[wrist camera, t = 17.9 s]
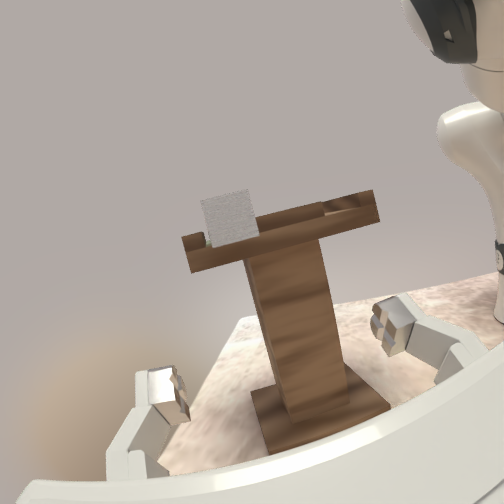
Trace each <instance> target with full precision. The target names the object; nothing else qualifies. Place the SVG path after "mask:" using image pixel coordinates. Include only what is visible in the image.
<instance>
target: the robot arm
mask: <svg viewBox="0 0 504 504" xmlns="http://www.w3.org/2000/svg"><path fill="white" fill-rule="evenodd" d="M401 5H402V9H403V12H404V15H405V17H406V19H407V22H408V23H409V25H410V27H411V29H412V30H413V31H414V33H415V34H416V36H417V37H418V38H419V39H420V40H421V41H422V42H423V43H424V44H425V45H426V46H427V47H428V48H429V49H430V50H431V52H432V53H433V55H434V56H436V57H438V58H439V59H441V60H443V61H444V62H446V63H452V64H459V65H460V68H461V72H462V76H463V80H464V83H465V85H466V87H467V89H468V90H469V92H470V93H471V94H472V95H473V96H474V97H475V98H476V99H477V100H478V102H473V103H469V104H464V105H461V106H458V107H456V108H454V109H451V110H450V111H448V112H446V113H444V114H442V115H441V116H440V118H439V121H438V125H437V139H438V142H439V145H440V148H441V149H442V151H443V153H444V154H445V156H446V157H447V158H448V159H449V160H450V161H451V162H453V163H454V164H456V165H457V166H459V167H461V168H463V169H465V170H466V171H467V172H469V173H470V174H471V175H472V176H473V177H474V178H475V179H476V180H477V181H478V182H479V184H480V185H481V186H482V188H483V190H484V191H485V193H486V195H487V198H488V200H489V203H490V207H491V211H492V215H493V220H494V225H495V231H496V241H495V248H496V263H497V269H498V271H499V280H498V293H497V300H496V304H495V309H494V316H495V318H496V319H497V320H498V321H500V322H502V323H504V0H401ZM372 311H373V313H374V315H373V316H372V317H371V321H370V325H371V330H372V332H373V334H374V336H375V337H376V339H378V340H381V341H382V345H381V346H382V348H383V349H384V351H385V352H386V354H387V355H388V357H391V356H393V355H396V354H398V353H400V352H403V351H405V350H406V352H408V353H410V354H411V355H413V356H415V357H417V358H418V359H420V360H422V361H424V362H425V363H427V364H429V365H431V366H433V367H434V368H436V369H438V370H439V371H438V372H437V374H436V376H435V378H434V383H435V384H436V386H434V387H432V388H431V389H429V390H427V391H425V392H423V393H422V394H420V395H418V396H416V397H414V398H412V399H411V400H409V401H407V402H405V403H403V404H401V405H399V406H397V407H395V408H393V409H391V410H389V411H387V412H385V413H382V414H380V415H378V416H376V417H374V418H372V419H369V420H367V421H365V422H363V423H360V424H358V425H356V426H353V427H351V428H348V429H346V430H343V431H341V432H338V433H336V434H333V435H331V436H328V437H325V438H323V439H320V440H317V441H314V442H311V443H308V444H305V445H302V446H299V447H296V448H293V449H290V450H287V451H284V452H280V453H277V454H273V455H270V456H266V457H263V458H259V459H255V460H251V461H247V462H243V463H239V464H235V465H230V466H226V467H221V468H216V469H211V470H206V471H200V472H194V473H188V474H182V475H175V476H170V475H169V471H168V470H167V469H165V468H164V467H163V466H161V465H160V464H159V463H157V459H158V457H159V455H160V452H161V450H162V447H163V445H164V443H165V440H166V438H167V435H168V433H169V430H170V428H171V426H172V425H176V424H181V423H186V422H190V421H191V419H190V413H189V407H188V405H187V404H186V402H185V401H186V399H187V393H186V389H185V385H184V382H183V380H182V378H181V376H179V375H177V369H176V368H175V366H174V365H170V366H165V367H160V368H154V369H149V370H144V371H138V372H136V375H135V404H136V408H132V410H131V411H130V413H129V415H128V416H127V418H126V419H125V421H124V423H123V424H122V426H121V428H120V429H119V431H118V433H117V434H116V436H115V438H114V439H113V441H112V443H111V444H110V446H109V448H108V449H107V451H106V475H107V481H94V482H84V481H52V480H41V479H38V480H33V481H31V482H30V483H29V484H28V485H27V487H26V488H25V489H24V491H23V492H22V493H21V495H20V497H19V498H18V499H17V501H16V503H15V504H504V341H502V342H501V343H500V344H498V345H497V346H496V347H494V348H493V349H491V350H490V351H489V350H488V349H487V348H486V346H485V345H484V344H483V343H482V342H481V340H480V339H479V338H478V337H477V336H476V335H475V333H474V332H472V331H470V330H467V329H464V328H462V327H459V326H457V325H454V324H452V323H449V322H446V321H444V320H441V319H439V318H436V317H433V316H431V315H428V316H427V315H426V314H425V313H424V312H423V311H422V310H421V309H420V307H419V306H418V305H417V304H416V303H415V302H414V301H413V299H412V298H411V297H410V296H409V295H408V294H407V293H405V292H403V293H401V294H398V295H396V296H392V297H390V298H388V299H385V300H383V301H380V302H378V303H375V304H374V305H373V308H372Z"/></svg>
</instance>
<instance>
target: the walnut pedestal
mask: <svg viewBox="0 0 504 504" xmlns="http://www.w3.org/2000/svg"><path fill="white" fill-rule="evenodd" d="M255 219H256V223H257V227H258V231H259V235H260V236H257V237H253V238H249V239H246V240H242V241H238V242H234V243H230V244H227V245H223V246H219V247H216V248H213V247H212V244H211V241H210V240H209V241H207V242H206V240H205V236H204V233H203V232H198V233H195V234H191V235H187V236H183V237H182V241H183V244H184V248H185V252H186V255H187V259H188V263H189V267H190V270H191V273H195V272H199V271H202V270H206V269H210V268H213V267H217V266H221V265H224V264H228V263H231V262H235V261H239V260H243V262H244V266H245V269H246V273H247V277H248V281H249V285H250V289H251V292H252V296H253V300H254V304H255V307H256V311H257V315H258V319H259V322H260V326H261V330H262V333H263V337H264V341H265V345H266V348H267V352H268V356H269V359H270V363H271V367H272V370H273V374H274V378H275V381H276V384H275V385H271V386H268V387H265V388H261V389H258V390H254V391H251V396H252V399H253V403H254V406H255V409H256V413H257V416H258V419H259V423H260V426H261V429H262V432H263V436H264V439H265V442H266V445H267V449H268V452H269V455H273V454H277V453H280V452H284V451H287V450H290V449H293V448H296V447H299V446H302V445H305V444H308V443H311V442H314V441H317V440H320V439H323V438H325V437H328V436H331V435H333V434H336V433H338V432H341V431H343V430H346V429H348V428H351V427H353V426H356V425H358V424H360V423H363V422H365V421H367V420H369V419H372V418H374V417H376V416H378V415H380V414H382V413H385V412H387V411H389V410H391V407H390V404H389V403H388V402H387V401H386V400H385V399H384V398H382V397H381V396H380V395H379V394H378V393H377V392H376V391H375V390H374V389H373V388H371V387H370V386H369V385H368V384H367V383H366V382H365V381H364V380H363V379H362V378H360V377H359V376H358V375H357V374H356V373H355V372H354V371H353V370H352V369H351V368H350V367H348V366H347V365H346V364H345V363H344V362H343V357H342V351H341V346H340V340H339V335H338V329H337V324H336V319H335V314H334V309H333V304H332V299H331V294H330V289H329V285H328V280H327V275H326V271H325V266H324V262H323V257H322V253H321V249H320V244H319V240H318V239H319V238H323V237H327V236H331V235H334V234H338V233H341V232H345V231H349V230H352V229H356V228H360V227H363V226H367V225H370V224H374V223H378V222H380V219H379V215H378V210H377V206H376V202H375V198H374V194H373V190H368V191H364V192H359V193H355V194H351V195H348V196H344V197H340V198H336V199H333V200H329V201H325V202H316V203H312V204H308V205H304V206H300V207H296V208H291V209H288V210H284V211H280V212H276V213H271V214H267V215H263V216H259V217H255Z"/></svg>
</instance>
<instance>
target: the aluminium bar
mask: <svg viewBox="0 0 504 504" xmlns="http://www.w3.org/2000/svg"><path fill="white" fill-rule="evenodd" d="M201 205H202V209H203V214H204V218H205V222H206V226H207V230H208V234H209V237H210V241H211V244H212V247H213V248H216V247H219V246H223V245H227V244H230V243H234V242H238V241H242V240H246V239H249V238H253V237H257V236H260V235H259V231H258V227H257V223H256V219H255V215H254V211H253V208H252V204H251V200H250V196H249V192H248V189H246V190H241V191H237V192H233V193H229V194H225V195H222V196H218V197H214V198H210V199H206V200H202V201H201Z"/></svg>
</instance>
